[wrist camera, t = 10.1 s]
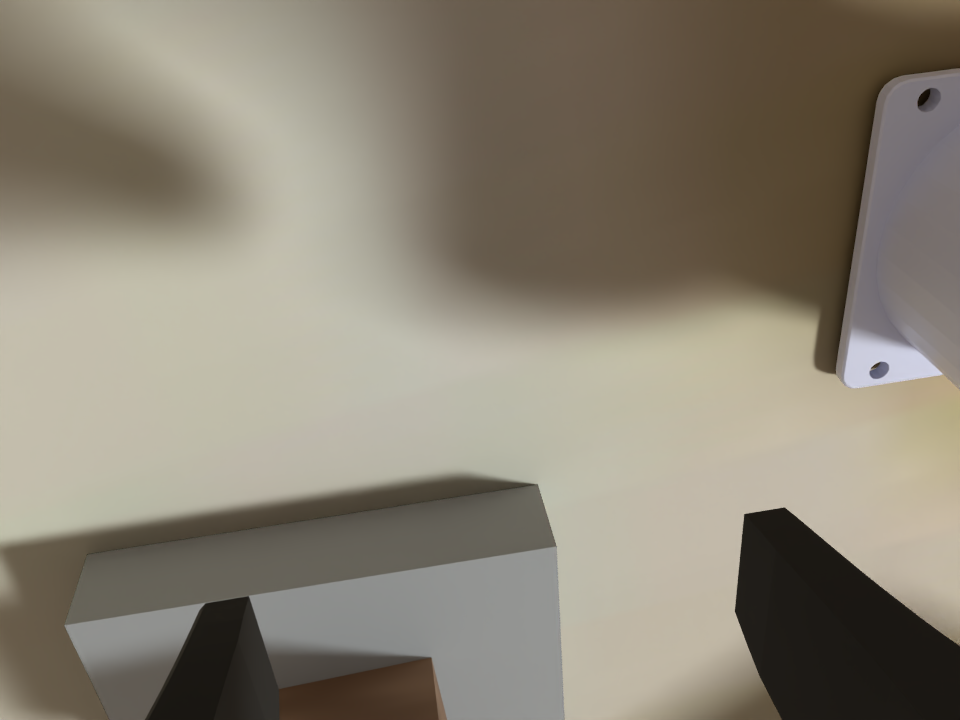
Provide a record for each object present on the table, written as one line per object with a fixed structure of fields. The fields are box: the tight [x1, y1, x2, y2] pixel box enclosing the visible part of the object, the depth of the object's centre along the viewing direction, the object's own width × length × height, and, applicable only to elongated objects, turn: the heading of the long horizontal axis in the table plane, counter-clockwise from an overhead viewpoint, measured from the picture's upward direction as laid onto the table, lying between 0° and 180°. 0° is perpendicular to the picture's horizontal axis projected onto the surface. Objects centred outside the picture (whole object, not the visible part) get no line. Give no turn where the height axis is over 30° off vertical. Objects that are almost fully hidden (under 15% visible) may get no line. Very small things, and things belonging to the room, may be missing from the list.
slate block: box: [64, 485, 565, 720], centre depth 26 cm, size 12×12×3 cm
